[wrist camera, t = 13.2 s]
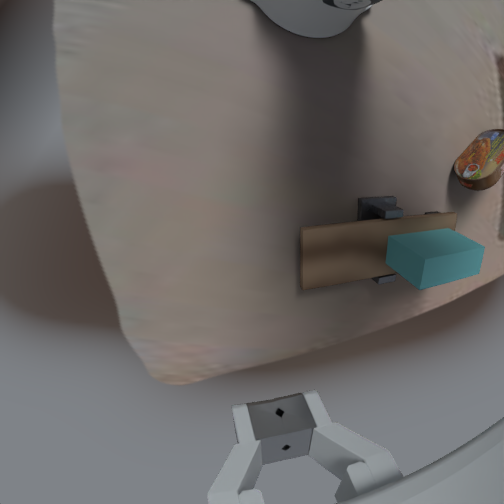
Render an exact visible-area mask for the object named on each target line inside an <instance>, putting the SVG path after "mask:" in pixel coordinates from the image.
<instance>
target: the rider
mask: <svg viewBox="0 0 504 504" xmlns="http://www.w3.org/2000/svg"><path fill="white" fill-rule="evenodd" d="M484 249H485V247H484V246H482V245H480V244H478V243H477V242H475V241H473V240H471V239H469V238H467V237H465V236H463V235H461V234H459V233H457V232H455V231H453V230H451V229H449V228H445V229H438V230H430V231H422V232H415V233H407V234H399V235H392V236H388V245H387V254H386V264H387V265H388V266H390V267H391V268H392V269H393V270H395V271H396V272H397V273H399V274H400V275H401V276H402V277H404V278H405V279H406V280H407V281H409V282H410V283H411V284H413V285H414V286H415V287H416V288H418V289H419V290H422V289H426V288H430V287H433V286H437V285H441V284H445V283H448V282H452V281H455V280H459V279H462V278H466V277H469V276H473V275H476V274H479V271H480V267H481V263H482V258H483V254H484Z"/></svg>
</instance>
